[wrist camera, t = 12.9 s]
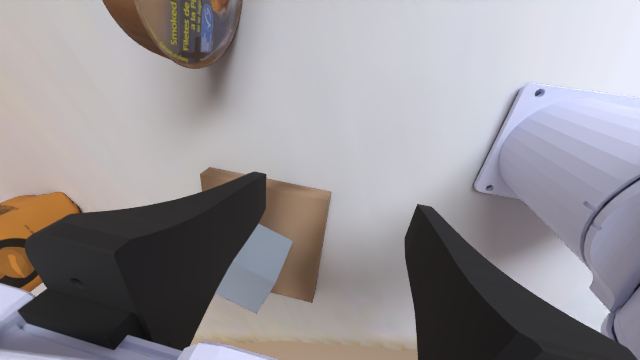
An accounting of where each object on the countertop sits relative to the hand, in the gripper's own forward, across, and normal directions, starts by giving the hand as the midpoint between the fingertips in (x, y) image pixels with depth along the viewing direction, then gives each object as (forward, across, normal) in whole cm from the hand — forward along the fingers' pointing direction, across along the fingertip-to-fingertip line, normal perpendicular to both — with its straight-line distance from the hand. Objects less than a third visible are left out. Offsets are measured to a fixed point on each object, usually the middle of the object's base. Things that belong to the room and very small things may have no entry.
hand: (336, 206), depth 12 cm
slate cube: (+8, +7, +12) cm, 16 cm away
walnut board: (+9, +7, +12) cm, 17 cm away
